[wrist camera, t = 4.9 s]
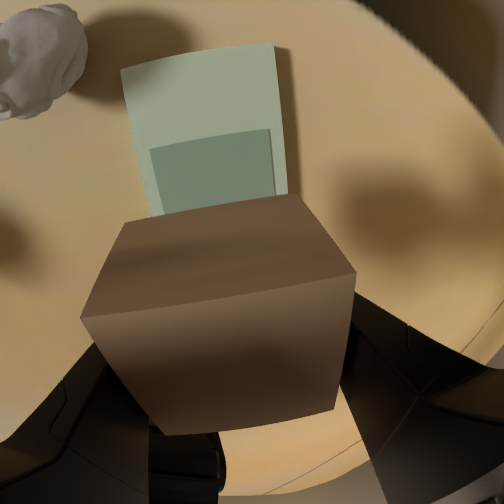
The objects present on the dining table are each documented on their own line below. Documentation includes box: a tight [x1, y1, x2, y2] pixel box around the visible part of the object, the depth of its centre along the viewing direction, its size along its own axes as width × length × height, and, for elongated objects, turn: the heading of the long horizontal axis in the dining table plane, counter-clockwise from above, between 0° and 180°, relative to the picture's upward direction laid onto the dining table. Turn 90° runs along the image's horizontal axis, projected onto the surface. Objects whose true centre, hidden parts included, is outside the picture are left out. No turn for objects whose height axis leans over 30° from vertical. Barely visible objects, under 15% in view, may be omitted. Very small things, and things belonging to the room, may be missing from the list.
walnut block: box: [80, 193, 357, 436], centre depth 8 cm, size 5×5×4 cm
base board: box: [120, 43, 288, 217], centre depth 16 cm, size 12×8×1 cm, turn 7°
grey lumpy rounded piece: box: [0, 4, 88, 121], centre depth 9 cm, size 6×7×7 cm
